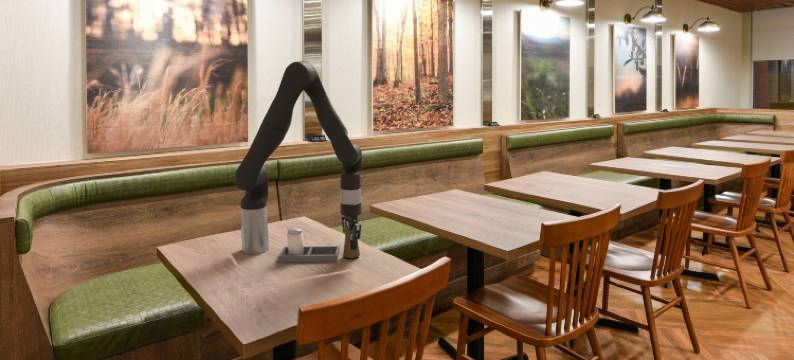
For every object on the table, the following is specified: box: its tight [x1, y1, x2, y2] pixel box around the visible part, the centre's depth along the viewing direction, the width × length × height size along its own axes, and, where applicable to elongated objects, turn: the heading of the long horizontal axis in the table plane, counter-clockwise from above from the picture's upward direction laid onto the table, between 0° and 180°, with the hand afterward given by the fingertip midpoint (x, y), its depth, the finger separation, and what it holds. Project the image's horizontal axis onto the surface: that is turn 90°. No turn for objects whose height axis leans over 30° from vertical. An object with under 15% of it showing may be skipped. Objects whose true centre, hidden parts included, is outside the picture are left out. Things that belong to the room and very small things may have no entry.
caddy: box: [277, 245, 341, 263], centre depth 195 cm, size 20×11×3 cm, turn 91°
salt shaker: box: [286, 227, 305, 255], centre depth 194 cm, size 6×6×10 cm
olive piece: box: [342, 226, 361, 259], centre depth 194 cm, size 6×6×11 cm
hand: (351, 247), depth 194 cm, fingers closed on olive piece, 4 cm apart
